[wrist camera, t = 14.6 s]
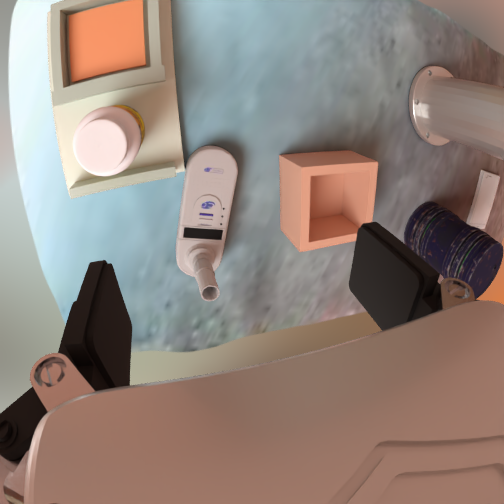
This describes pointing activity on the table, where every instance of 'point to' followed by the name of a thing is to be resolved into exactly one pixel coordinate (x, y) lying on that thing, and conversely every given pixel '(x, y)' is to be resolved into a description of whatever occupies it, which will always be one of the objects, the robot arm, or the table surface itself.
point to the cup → (325, 197)
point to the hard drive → (483, 199)
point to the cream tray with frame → (118, 98)
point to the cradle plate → (107, 40)
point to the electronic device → (205, 215)
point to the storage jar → (453, 246)
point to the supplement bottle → (108, 139)
